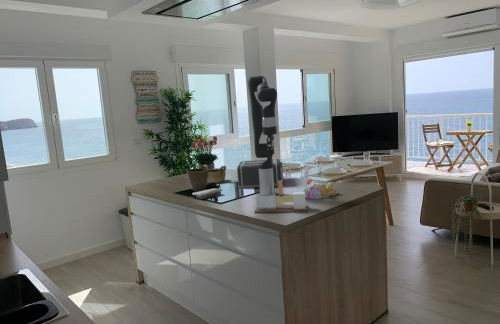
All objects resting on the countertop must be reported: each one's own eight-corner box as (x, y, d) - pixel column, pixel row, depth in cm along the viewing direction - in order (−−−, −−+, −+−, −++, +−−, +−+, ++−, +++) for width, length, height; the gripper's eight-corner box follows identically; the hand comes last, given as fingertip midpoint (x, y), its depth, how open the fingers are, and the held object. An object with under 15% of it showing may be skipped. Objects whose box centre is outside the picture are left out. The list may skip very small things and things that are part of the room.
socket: (294, 206, 219) (293, 192, 218) (305, 205, 218) (304, 191, 217) (294, 209, 213) (293, 194, 212) (305, 208, 212) (304, 194, 211)
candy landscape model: (342, 192, 251) (342, 177, 250) (328, 200, 232) (327, 185, 231) (307, 190, 265) (306, 176, 264) (290, 198, 246) (289, 183, 245)
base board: (258, 207, 226) (258, 206, 226) (307, 206, 220) (307, 204, 220) (254, 213, 214) (254, 211, 214) (307, 211, 209) (307, 210, 209)
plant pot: (209, 193, 278) (207, 170, 276) (187, 194, 278) (185, 172, 276) (211, 189, 293) (209, 167, 291) (190, 190, 293) (188, 169, 291)
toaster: (288, 187, 279) (287, 162, 277) (238, 190, 282) (236, 166, 279) (287, 179, 309) (285, 157, 307) (241, 182, 312) (239, 160, 309)
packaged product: (223, 195, 265) (215, 195, 272) (222, 188, 264) (214, 188, 272) (200, 201, 253) (192, 200, 261) (199, 193, 253) (191, 192, 261)
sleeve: (258, 207, 222) (257, 194, 221) (276, 207, 220) (275, 193, 219) (257, 209, 217) (256, 196, 216) (275, 209, 215) (274, 195, 214)
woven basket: (197, 185, 313) (196, 166, 311) (211, 181, 327) (210, 163, 325) (219, 186, 300) (218, 167, 298) (233, 182, 314) (231, 163, 312)
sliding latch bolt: (270, 201, 219) (268, 180, 218) (300, 200, 216) (299, 179, 215) (269, 202, 216) (267, 182, 215) (300, 201, 213) (299, 180, 212)
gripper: (264, 125, 222) (266, 154, 224) (260, 127, 208) (263, 157, 210) (277, 124, 221) (279, 153, 223) (275, 126, 207) (277, 157, 209)
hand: (271, 155), depth 217 cm, fingers open, 8 cm apart
